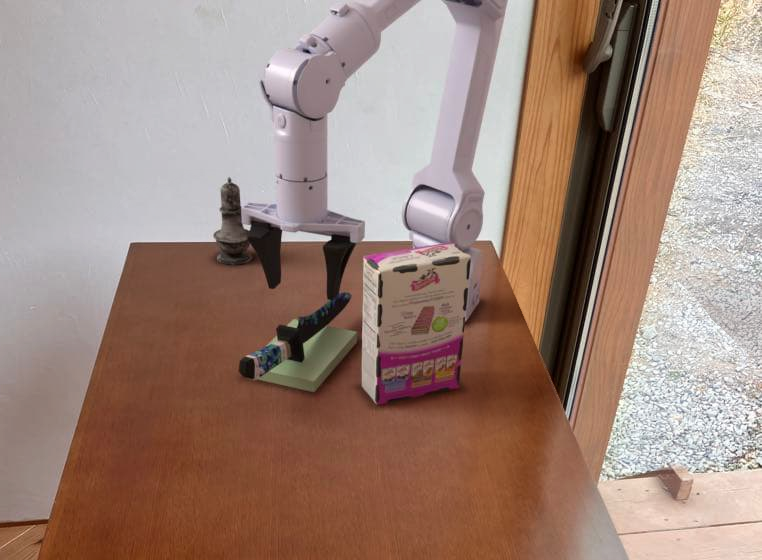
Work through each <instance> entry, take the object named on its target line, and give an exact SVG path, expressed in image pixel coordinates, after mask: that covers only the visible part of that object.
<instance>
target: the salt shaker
mask: <svg viewBox="0 0 762 560" xmlns="http://www.w3.org/2000/svg"><path fill="white" fill-rule="evenodd" d="M226 181H227V182H226V183H224V184H222V185H221V186H220V191H219V192H220V203H221V206H220V207H219V208H218V211H219V212H220V214H221V228H220V229H218V230H216V231H215V232H213V235H212V236H213V239H215V244H216V245H217V247H218V249H219V250H220V251H222V252H220V253H219V254H218V255H217V257H216V259H217V261H218V262H219V263H222V264H224V265H228V266H229V265H231V266H239V265H244V264H247V263H249V262H250V261H251V260H252V259H253V256H252V254H251V253H249V252H248V251H247V250H248V249H249V248H250V246H251V244H250V242H249V241H248V240H247V232H248V231H249V230H250V229H246V228H245V227H244V224H242V214H241V207H242V206H241V190H240V186H239V185H238V184H236V183H234V182H232V178H231V177H230V176H228V178H227V179H226Z"/></svg>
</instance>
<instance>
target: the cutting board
mask: <svg viewBox="0 0 762 560" xmlns="http://www.w3.org/2000/svg"><path fill="white" fill-rule="evenodd" d="M286 326H289V327H294V328H297V326H298V319H296V318H293V319H292V320H291V321H290V322H289V323H287V325H286ZM276 341H278V338H277V335H275V337H273V338H272V339H271V340H270V341H269V343H268V344H267V345H266V346H268V345H271V344H272V343H274V342H276ZM357 341H358V331H356V330H350V329H345V328H340V327H335V326H331V325H327V326H326V327H324V328H323V329H322V330H321V331H319V332H318V333H317V334H316V335H314V336H313V337H312V338H310V339H309V340H308V341H306V342H305V343H303V348H304V356H305V359H304V360H303V361H302V362H297V361H293V360H288V359H286V360H285V361H283V362H282V363H280V364H279V365H277V366H276V367H275V368H273V369H272V370H270V371H269V372H267V373H266V374H264V375H263V376H261V377H260V378H259V379H257V380H256V381H260V382H261V381H262V382H265V383H266V382H267V383H271V384H275V385H279V386H284V387H288V388H292V389H298V390H302V391H306V392H311V393H315V392H316V391H317V390H318V389H319V387H320V386H321V385H322V384H323V383H324V382H325V380H326V379H327V378H328V377H329V376H330V374H331V373H332V372H333V371H334V370H335V369H336V368H337V366H338V365H339V364H340V363H341V362H342V360H343V359H344V358H345V357H346V356H347V355H348V353H349V352H350V351H351V350H352V349H353V348H354V346H355V345H356V344H357V343H358V342H357Z"/></svg>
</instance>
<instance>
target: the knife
mask: <svg viewBox="0 0 762 560" xmlns="http://www.w3.org/2000/svg"><path fill="white" fill-rule="evenodd" d="M351 299H352V294H351V293H350V292H346V291H344V292H339V295H338V296H337V297H336V298H335V299H334V300H328V301H327V302H326V303H325V304H324V305H323V306H321V307H320V308H319V309H317V310H315V312H313V313H311V314H309V315H305V316H298V319H297V320H298V326H297V328H294V327H289V326H287V325H285V324H278V325H277V327H276V328H275V332H276V336H277V338H278V341H276V342H274V343H272V344H271V345H268V344H267V345H268V346H267V345H265V346H263V347H262V348H260V349H258V350H256V351H254V352H252V353H250V354H248V355H245V356H244V357H242V359H240V360H239V362H238V364H239V365H238V371H237V372H238V373H239V374H240V375H241V376H242V377H243V378H245V379H246V380H250V381H254V382H256V381H258V380H257V379H259V378H260V377H261V376H263V375H264V374H266V373H267V372H269V371H270V370H272V369H273V368H275V367H276V366H277V365H279V364H280V363H282V362H283V361H285V360H286V359H288V360H293V361H297V362H302V361H303V360H304V359H305V356H304V348H303V343H305V342H306V341H308V340H309V339H310V338H312V337H313V336H314V335H316V334H317V333H318V332H319V331H321V330H322V329H323V328H324V327H326V326H329V324H330V323H331V322H332V321H334V320H335V318H336V317H338V316H339V314H341V313H342V311H343V310H344V309H345V308H346V307H347V305H348V304H349V303H350V301H351Z"/></svg>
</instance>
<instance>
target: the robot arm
mask: <svg viewBox="0 0 762 560" xmlns="http://www.w3.org/2000/svg"><path fill="white" fill-rule="evenodd" d="M421 1H422V0H362V1H361V2H360V3H359V2H357V1H354V0H346V1H344V2H340V1H336V2H335V3H334V4H333V5H332V6H331V7H330V8H329V11H330V14H329V15H328V16H327V17H326V18H325V19H324V20H322V21H321V22H320V23H319V24H318V25H316V27H315V28H314V29H313V30H311V32H309V33H304V34H303V35H302V36H301V37H300V38H299V39H298V40H299V41H298V43H297V44H296V45H295V46H294V48H291V47H288V48H286V47H284V48H282V49H279V50H278V51H276V52H275V53H274V54H273V55H272V56H271V57H270V58H269V60H268V62H267V63H266V65H265V68H264V72H263V78H262V79H260V80H259V87H260V92H261V94H262V97H263V99H264V100H265V102H266V103H267V105H268V107H269V111H270V121H272V124H273V138H274V140H273V141H274V162H275V163H274V166H275V167H274V169H275V190H276V191H275V195H276V196H275V197H276V203H259V202H257V203H256V202H250V201H248V202H247V203H246V204H244V205H242V206H241V214H242V224H243V225H246V226H250V227H249V229H248V230H249V231H248V232H247V240H248V241H249V242H250V246H251V248H252V249H253V251H254V252H255V254H256V256H257V258H258V260H259V262H260V264H261V267H262V269H263V273H264V277H265V279H266V283H267V287H268V289H271V290H275V289H276V288H277V287H278V286H279V285H280V284H281V282H282V262H281V261H282V259H281V250H282V249H281V248H282V237H283V232H289V233H298V232H302V233H308V234H315V235H320V236H324V237H325V236H327V237H330V239H329V240H328V241H326V242H325V243H324V244H323V245H322V252H323V255H324V261H325V268H326V299H327V300H328V301H330V300H334V299H335V298H336V297H337V296H338V295H339V294H340V291H341V285H342V280H343V277H344V274H345V271H346V267H347V265H348V262H349V260H350V259H351V256H352V253H353V252H354V249H355V247H356V245H357V244H360V243H361V242H362V241H363V240H364V239H365V238H366V237H365V235H366V221H365V220H362V219H357V218H353V217H350V216H347V215H344V214H341V213H339V212H335V211H333V210H329V209H328V114H329V113H331V112H332V111H333V110H334V109H335V108H336V105H337V103H338V101H339V99H340V93H341V90H342V89H343V88H344V87H345V86H346V82H347V80H348V79H349V78H350V77H352V76H353V75H354V74H355V73H356V72H357V71H358V70H359V69H360V68H361V67H362V66H363V65H365V64H366V63H367V62H368V61H369V60H370V59H371V58H372V57H373V56H374V55H375V54H376V53H378V51H379V49H380V47H381V42H382V32H383V31H384V30H386V29H387V28H388V27H390V26H391V25H392V24H394V23H395V22H396V21H397V20H398V19H400V18H401V17H403V15H405V14H406V13H407V12H408V11H410V10H411V9H412V8H413V7H415V6H416V5H417V4H419V3H420V2H421ZM440 1H441V2H443V4H445V5H446V7H447V9H448V11H449V13H450V15H451V16H452V18H453V20H454V22H455V29H454V34H453V39H452V44H451V50H450V55H449V59H448V66H447V71H446V77H445V81H444V87H443V92H442V97H441V101H440V108H439V111H438V112H439V113H438V119H437V123H436V129H435V134H434V139H433V144H432V149H431V153H430V154H431V155H430V160H429V163H428V164H427V165H425V166H424V167H422V168H421V169H419V170H418V171H416V172H415V173H414V174H413V176H412V181H411V186H410V189H409V191H408V192H407V195H406V196H405V198H404V201H403V204H402V208H401V220H402V224H403V226H404V228H405V229H406V230H408V231H409V235H408V237H409V240H411V241H412V248H417V247H423V246H430V245H437V244H443V243H449V242H452V243H454V244H456V247H459V248H460V249H462V250H463V251H464V252H466V253H467V254H469V255H470V256H471V263H470V275H469V284H468V296H467V306H466V317H465V323H466V322H467V321H468V320H469V318H470V316H471V315H472V313H473V312H474V311H475V309H476V308H477V306H478V305H479V303H480V290H481V281H482V275H483V274H482V273H483V266H484V252H483V250H481V249H478V248H475V247H473V244H475V242H476V241H477V239H478V238H479V236H480V235H481V232H482V229H483V223H484V211H483V203H484V197H485V194H486V193H485V190H484V188H483V187H482V185H481V184H480V182H479V181H478V178H477V177H476V175H475V174H474V172H473V165H474V161H475V156H476V151H477V147H478V142H479V138H480V134H481V128H482V123H483V119H484V114H485V109H486V105H487V100H488V95H489V91H490V86H491V82H492V76H493V73H494V67H495V63H496V58H497V54H498V49H499V45H500V41H501V35H502V30H503V27H504V22H505V17H506V11H507V5H508V0H440Z"/></svg>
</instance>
